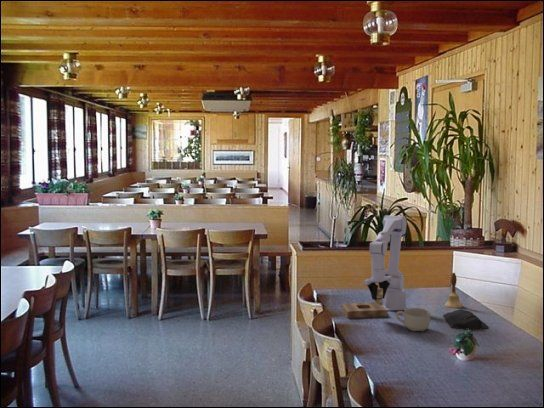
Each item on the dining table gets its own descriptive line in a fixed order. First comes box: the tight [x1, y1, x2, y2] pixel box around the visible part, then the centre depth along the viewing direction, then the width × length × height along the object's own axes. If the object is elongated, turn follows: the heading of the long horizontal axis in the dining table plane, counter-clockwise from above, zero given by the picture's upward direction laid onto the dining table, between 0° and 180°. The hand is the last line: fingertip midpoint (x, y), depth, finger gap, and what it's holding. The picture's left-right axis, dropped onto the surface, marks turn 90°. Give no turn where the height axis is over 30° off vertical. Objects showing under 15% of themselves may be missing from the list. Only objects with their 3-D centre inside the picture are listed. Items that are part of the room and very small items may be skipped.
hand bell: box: [444, 272, 464, 309], centre depth 284 cm, size 8×8×16 cm
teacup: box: [395, 307, 431, 332], centre depth 248 cm, size 14×11×8 cm
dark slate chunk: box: [442, 309, 489, 330], centre depth 258 cm, size 15×22×5 cm
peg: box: [374, 287, 384, 306], centre depth 263 cm, size 4×4×7 cm
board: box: [341, 301, 388, 319], centre depth 275 cm, size 18×14×3 cm
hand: (378, 298), depth 264 cm, fingers closed on peg, 4 cm apart
